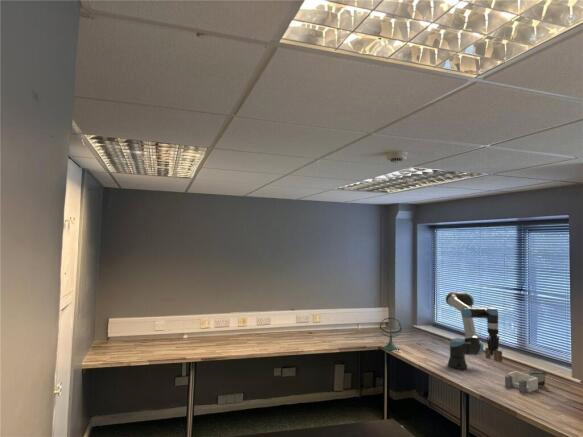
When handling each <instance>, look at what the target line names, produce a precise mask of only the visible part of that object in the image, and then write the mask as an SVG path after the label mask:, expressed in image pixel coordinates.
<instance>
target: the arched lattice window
mask: <svg viewBox="0 0 583 437" xmlns="http://www.w3.org/2000/svg"><path fill="white" fill-rule="evenodd" d="M528 375H530V376H533V377H536V378H538V387H540V386H541V387H545V384H546V376H547V373H546V371H544V370H540V369H529V371H528Z"/></svg>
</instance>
